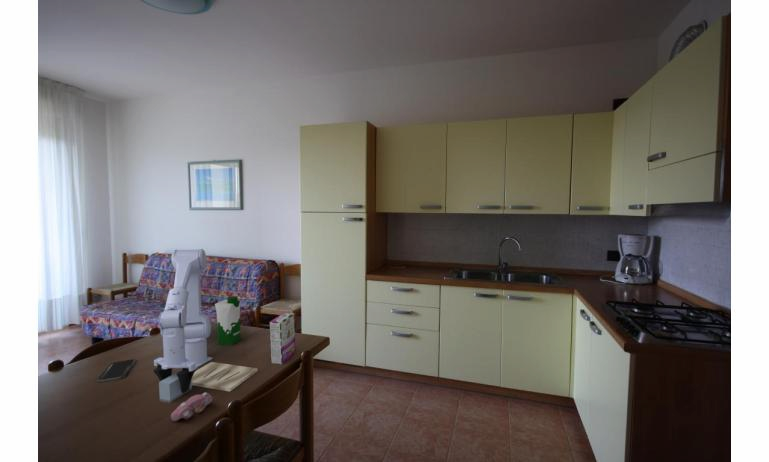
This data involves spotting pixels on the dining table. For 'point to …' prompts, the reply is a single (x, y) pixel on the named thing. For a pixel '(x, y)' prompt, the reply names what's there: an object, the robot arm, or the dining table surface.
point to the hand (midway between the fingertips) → (176, 389)
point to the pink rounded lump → (191, 406)
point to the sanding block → (171, 388)
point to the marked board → (221, 376)
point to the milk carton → (228, 321)
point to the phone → (116, 370)
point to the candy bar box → (282, 338)
